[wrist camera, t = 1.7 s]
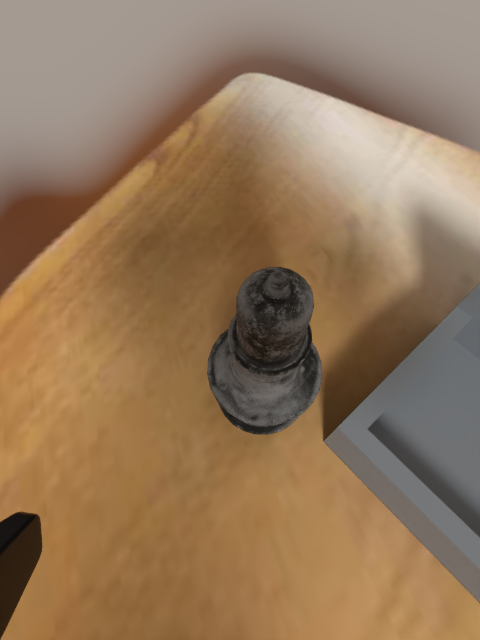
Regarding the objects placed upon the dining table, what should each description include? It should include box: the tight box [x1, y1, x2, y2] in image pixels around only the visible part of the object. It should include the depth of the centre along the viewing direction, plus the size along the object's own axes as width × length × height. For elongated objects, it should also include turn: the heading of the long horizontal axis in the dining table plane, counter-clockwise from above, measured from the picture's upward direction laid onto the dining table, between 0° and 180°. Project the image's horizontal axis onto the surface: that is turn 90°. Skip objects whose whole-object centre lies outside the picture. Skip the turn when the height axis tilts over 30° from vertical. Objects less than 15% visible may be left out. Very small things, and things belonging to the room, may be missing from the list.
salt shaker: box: [207, 267, 322, 434], centre depth 18 cm, size 6×6×12 cm
